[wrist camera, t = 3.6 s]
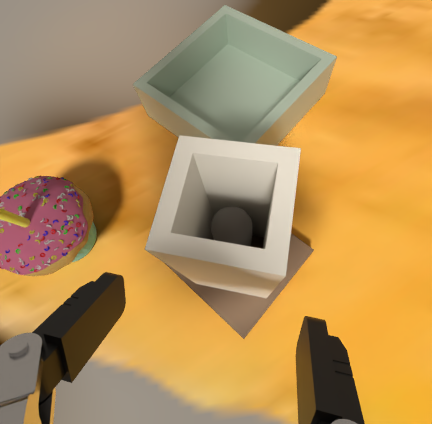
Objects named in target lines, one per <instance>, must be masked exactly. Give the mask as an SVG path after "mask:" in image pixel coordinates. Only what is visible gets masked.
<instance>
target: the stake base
mask: <svg viewBox="0 0 432 424" xmlns="http://www.w3.org/2000/svg"><path fill="white" fill-rule="evenodd" d="M211 233H212V235H213V238H214V240H216V241H221V242H227V243H233V244H238V245H244V246H250V247H256V248H261V249H262V248H263V241H264V237H258V236H252V220H251V218H250V216H249V215H248V213H247V212H245V211H244V210H243V209H241V208H238V207H226V208H223V209H221V210H219V211H218V212H217V213H216V214H215V215H214V217H213V218H212V221H211ZM313 251H314V250H313V249H312V248H311V247H309V246H308V245H306V244H305V243H304V242H302V241H301V240H300V239H298V238H297V237H296V236H294V235H293V234H292V233H291V236H290V245H289V253H288V262H287V270H286V277H285V278H284V279H283V280H282V281H281V282H280V283H279V285H278V286H277V287H276V288H275V289H274V290H273V291H272V293H271V294H270V295H269V296H268V297H267V298H262V297H258V296H253V295H248V294H243V293H238V292H233V291H229V290H224V289H219V288H214V287H209V286H204V285H200V284H196V283H194V282H193V281H191V280H190V279H188V278H187V277H185V276H184V275H182V274H181V273H179V272H178V271H176V270H175V269H173V268H172V267H170V266H169V265H167V264H166V263H165V264H166V265H167V266H168V267H169V268H170V269H171V270H173V271H174V272H175V273H176V274H177V275H178V276H179V277H180V278H181V279H182V280H183V281H184V282H185V283H186V284H187V285H188V286H189V287H190V288H191V289H192V290H193V291H194V292H195V293H197V294H198V295H199V296H200V297H201V298H202V299H203V300H204V301H205V302H206V303H207V304H208V305H209V306H210V307H211V308H212V309H213V310H214V311H215V312H216V313H217V314H218V315H219V316H220V317H222V318H223V319H224V320H225V321H226V322H227V323H228V324H229V325H230V326H231V327H232V328H233V329H234V330H235V331H236V332H237V333H238V334H239V335H240V336H241V337H242V338H243V339H244V338H245V337H246V336H247V334H248V333H249V332H250V330H251V329H252V328H253V327H254V325H255V324H256V323H257V322H258V320H259V319H260V318H261V316H262V315H263V314H264V313H265V311H266V310H267V309H268V308H269V306H270V305H271V304H272V303H273V301H274V300H275V299H276V297H277V296H278V295H279V294H280V292H281V291H282V290H283V289H284V287H285V286H286V285H287V283H288V282H289V281H290V280H291V278H292V277H293V276H294V275H295V273H296V272H297V271H298V270H299V268H300V267H301V266H302V264H303V263H304V262H305V261H306V259H307V258H308V257H309V256H310V254H311V253H312V252H313Z"/></svg>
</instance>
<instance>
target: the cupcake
mask: <svg viewBox="0 0 432 424" xmlns="http://www.w3.org/2000/svg"><path fill="white" fill-rule="evenodd" d="M62 178H63V177H62ZM62 178H58V177H51V176H37V177H35V178H29V179H28V180H27V181H24V182H23V183H20V184H17V185H16V186H14V187H13V188H10V189H9V190H8V191H6V192H5V193H4V194H3V195H2V196H1V197H0V268H1V269H6V270H8V271H10V272H13V273H16V274H20V275H26V276H42V275H48V274H51V273H54V272H56V271H58V270H59V269H61V268H62V267H64V266H66V265H68V264H70V263H71V262H75V261H78V260H80V259H81V258H83V257H84V256H86V255H87V254H88V253H89V252H90V250H91V249H92V247H93V246H94V244H95V241H96V235H97V232H96V227H95V224H94V223H93V218H94V215H93V211H92V207H91V203H90V200H89V198H88V196H87V195H86V194H85V193H84V192H83V191H82V190H80V189H79V188H77V187H76V186H75V185H73V183H72V182H70V181H68V180H66V179H64V178H63V179H62Z"/></svg>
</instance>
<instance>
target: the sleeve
mask: <svg viewBox="0 0 432 424" xmlns="http://www.w3.org/2000/svg"><path fill="white" fill-rule="evenodd" d="M300 151H301V148H293V147H283V146H274V145H265V144H255V143H246V142H237V141H227V140H218V139H209V138H199V137H190V136H181V135H179V139H178V142H177V145H176V148H175V152H174V155H173V158H172V162H171V165H170V168H169V171H168V175H167V178H166V181H165V185H164V188H163V191H162V194H161V198H160V201H159V204H158V208H157V211H156V214H155V217H154V221H153V224H152V227H151V231H150V234H149V237H148V241H147V244H146V247H145V250H146V251H148V252H149V253H151V254H152V255H154V256H155V257H157V258H158V259H160V260H161V261H163V262H164V263H166V264H167V265H169V266H170V267H172V268H173V269H175V270H176V271H178V272H179V273H181V274H182V275H184V276H185V277H187V278H188V279H190V280H191V281H193V282H194V283H196V284H200V285H204V286H209V287H214V288H219V289H224V290H229V291H233V292H238V293H243V294H248V295H253V296H258V297H262V298H267V297H268V296H269V295H270V294H271V293H272V291H273V290H274V289H275V288H276V287H277V286H278V285H279V283H280V282H281V281H282V280H283V279H284V278H285V277H286V270H287V262H288V253H289V245H290V236H291V228H292V219H293V211H294V202H295V194H296V185H297V177H298V168H299V160H300ZM226 207H238V208H241V209H243V210H244V211H245V212H247V213H248V215H249V216H250V218H251V220H252V236H258V237H264V241H263V248H262V249H261V248H256V247H250V246H244V245H238V244H233V243H227V242H221V241H216V240H214V238H213V235H212V233H211V221H212V218H213V217H214V215H215V214H216V213H217V212H218V211H219V210H221V209H223V208H226Z"/></svg>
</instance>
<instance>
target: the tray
mask: <svg viewBox="0 0 432 424" xmlns="http://www.w3.org/2000/svg"><path fill="white" fill-rule="evenodd" d="M336 58H337V56H334V55H332V54H330V53H328V52H326V51H324V50H321V49H319V48H317V47H315V46H313V45H310V44H308V43H306V42H304V41H302V40H300V39H297V38H295V37H293V36H291V35H289V34H287V33H284V32H282V31H280V30H278V29H276V28H273V27H271V26H269V25H267V24H265V23H263V22H260V21H258V20H256V19H254V18H252V17H250V16H247V15H245V14H243V13H241V12H239V11H237V10H234V9H232V8H230V7H228V6H226V5H225V6H223V7H222V8H221V9H220V10H219V11H218V12H216V13H215V14H214V15H213V16H212V17H211V18H209V19H208V20H207V21H206V22H205V23H204V24H202V25H201V26H200V27H199V28H198V29H197V30H195V31H194V32H193V33H192V34H191V35H190V36H188V37H187V38H186V39H185V40H184V41H183V42H181V43H180V44H179V45H178V46H177V47H176V48H175V49H173V50H172V51H171V52H170V53H169V54H167V56H165V57H164V58H163V59H162V60H160V61H159V62H158V63H157V64H156V65H155V66H154V67H152V68H151V69H150V70H149V71H148V72H146V73H145V74H144V75H143V76H142V77H141V78H139V79H138V80H137V81H136V82H135V83H134V84H133V86H134V88H135V90H136V92H137V94H138V96H139V98H140V100H141V102H142V104H143V106H144V108H145V110H146V112H147V114H148V116H149V117H151V118H152V119H154V120H155V121H156V122H158V123H159V124H160V125H162V126H163V127H165V128H166V129H167V130H169V131H170V132H172V133H173V134H174V135H176V136H177V137H178V138H179V135H181V136H190V137H199V138H209V139H218V140H227V141H237V142H246V143H255V144H265V145H274V146H277V145H278V144H279V143H280V142H281V140H282V139H283V138H284V137H285V136H286V135H287V134H288V133H289V132H290V131H291V130H292V128H293V127H294V126H295V125H296V124H297V123H298V122H299V121H300V120H301V119H302V118H303V117H304V115H305V114H306V113H307V112H308V111H309V110H310V109H311V108H312V107H313V106H314V105H315V104H316V102H317V101H318V100H319V99H320V98H321V97H322V96H323V95H324V94H325V91H326V88H327V85H328V82H329V79H330V76H331V73H332V70H333V67H334V64H335V61H336Z"/></svg>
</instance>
